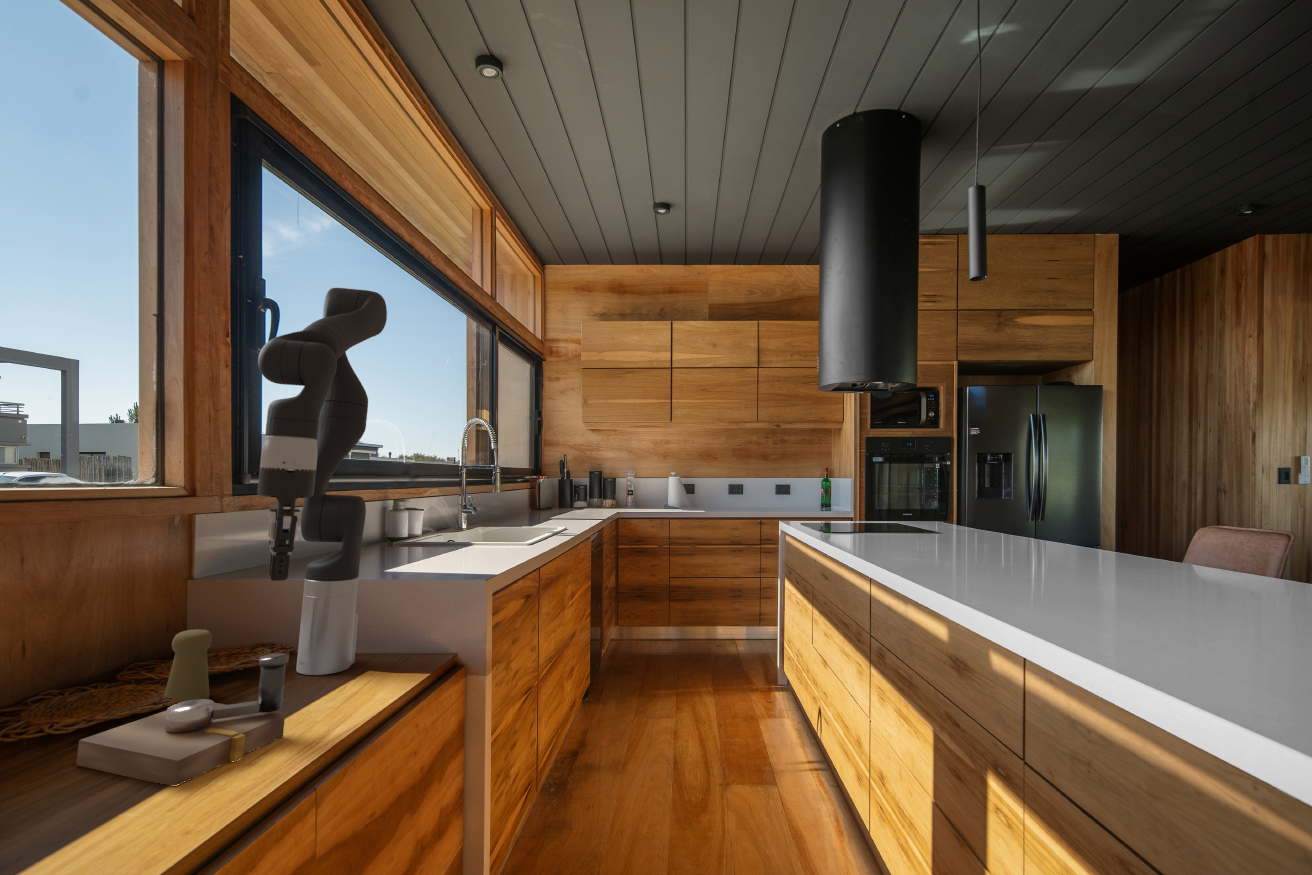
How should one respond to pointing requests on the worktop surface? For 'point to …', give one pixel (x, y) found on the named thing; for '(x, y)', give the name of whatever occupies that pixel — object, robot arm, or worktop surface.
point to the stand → (176, 746)
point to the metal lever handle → (203, 710)
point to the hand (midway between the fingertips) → (277, 577)
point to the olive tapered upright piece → (189, 666)
